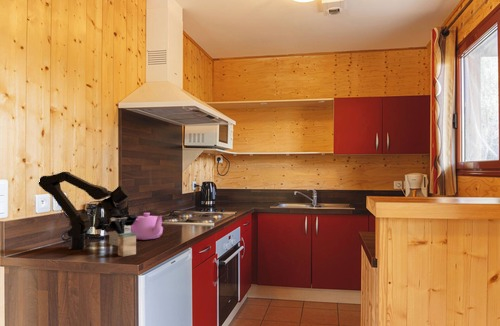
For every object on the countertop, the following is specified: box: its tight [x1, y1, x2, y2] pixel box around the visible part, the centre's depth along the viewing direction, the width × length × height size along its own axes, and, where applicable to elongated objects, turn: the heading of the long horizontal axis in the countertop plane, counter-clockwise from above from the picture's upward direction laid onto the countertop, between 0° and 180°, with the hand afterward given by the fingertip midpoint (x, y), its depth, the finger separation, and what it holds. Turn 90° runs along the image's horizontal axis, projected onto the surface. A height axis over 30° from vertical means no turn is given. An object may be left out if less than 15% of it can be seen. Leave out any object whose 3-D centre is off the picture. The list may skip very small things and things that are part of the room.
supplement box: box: [108, 225, 131, 247], centre depth 181 cm, size 7×7×13 cm
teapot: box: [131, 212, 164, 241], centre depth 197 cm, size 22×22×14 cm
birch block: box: [117, 232, 137, 257], centre depth 159 cm, size 4×6×9 cm
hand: (122, 236), depth 162 cm, fingers closed
